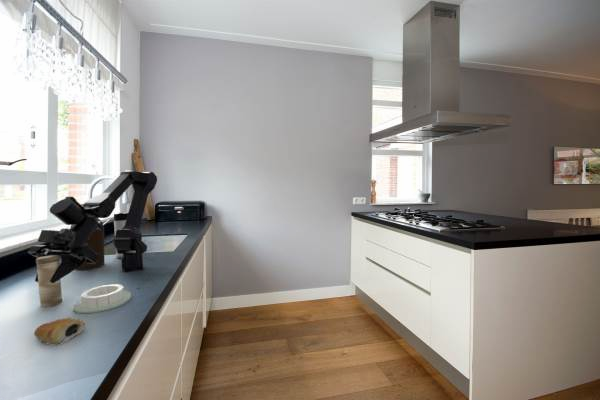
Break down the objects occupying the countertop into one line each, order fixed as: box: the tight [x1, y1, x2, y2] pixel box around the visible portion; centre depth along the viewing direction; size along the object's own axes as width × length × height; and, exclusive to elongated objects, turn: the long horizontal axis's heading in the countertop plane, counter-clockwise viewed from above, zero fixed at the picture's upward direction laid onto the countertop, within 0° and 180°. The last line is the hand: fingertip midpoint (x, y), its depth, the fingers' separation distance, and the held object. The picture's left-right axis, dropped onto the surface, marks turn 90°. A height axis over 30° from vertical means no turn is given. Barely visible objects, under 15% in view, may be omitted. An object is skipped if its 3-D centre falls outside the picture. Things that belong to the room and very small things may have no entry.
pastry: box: [34, 317, 86, 346], centre depth 61 cm, size 9×7×4 cm
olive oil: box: [70, 203, 106, 271], centre depth 110 cm, size 11×11×25 cm
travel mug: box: [113, 212, 128, 259], centre depth 123 cm, size 6×7×20 cm
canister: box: [35, 255, 63, 308], centre depth 77 cm, size 5×5×13 cm
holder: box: [73, 283, 132, 314], centre depth 77 cm, size 13×13×3 cm
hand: (44, 282), depth 75 cm, fingers closed on canister, 4 cm apart
